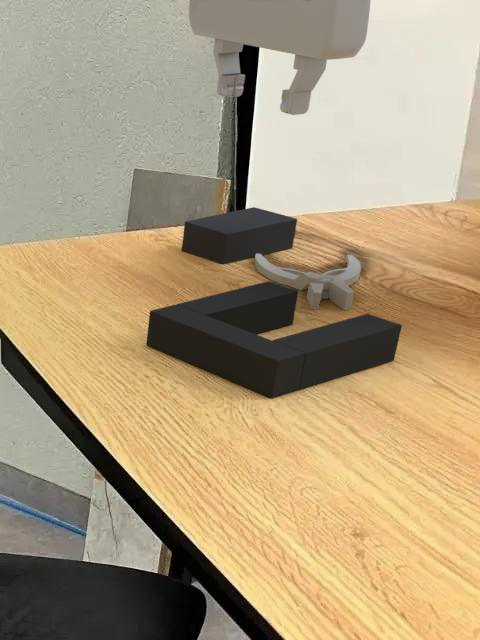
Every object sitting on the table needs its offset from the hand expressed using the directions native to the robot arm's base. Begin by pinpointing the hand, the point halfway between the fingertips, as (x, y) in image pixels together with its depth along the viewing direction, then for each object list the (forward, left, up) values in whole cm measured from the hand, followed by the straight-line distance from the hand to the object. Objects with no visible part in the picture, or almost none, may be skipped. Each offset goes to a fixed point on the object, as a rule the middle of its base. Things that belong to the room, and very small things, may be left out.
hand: (260, 104), depth 99 cm
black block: (-11, -10, -17) cm, 22 cm away
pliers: (-8, +3, -17) cm, 19 cm away
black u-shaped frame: (+9, +13, -17) cm, 23 cm away
